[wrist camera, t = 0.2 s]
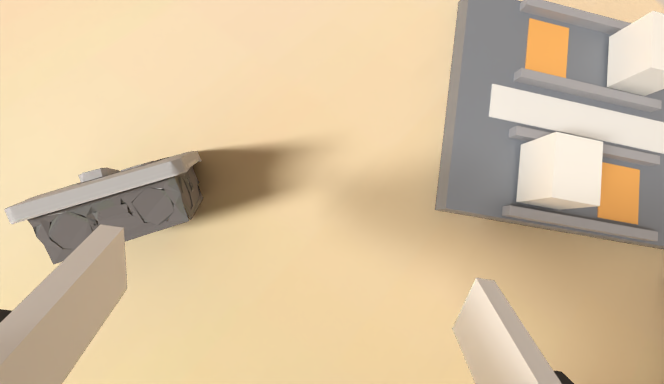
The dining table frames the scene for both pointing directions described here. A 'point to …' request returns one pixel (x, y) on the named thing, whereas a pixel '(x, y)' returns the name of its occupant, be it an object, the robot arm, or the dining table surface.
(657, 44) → the outer tab
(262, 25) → the dining table surface
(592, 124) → the switch panel
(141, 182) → the electrical switch
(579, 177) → the inner tab
